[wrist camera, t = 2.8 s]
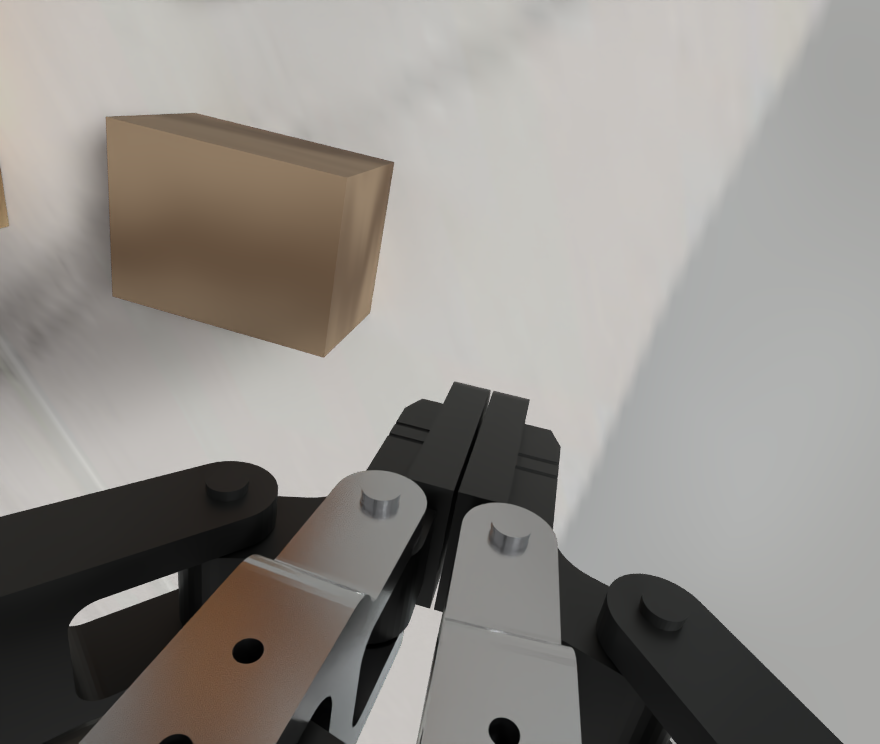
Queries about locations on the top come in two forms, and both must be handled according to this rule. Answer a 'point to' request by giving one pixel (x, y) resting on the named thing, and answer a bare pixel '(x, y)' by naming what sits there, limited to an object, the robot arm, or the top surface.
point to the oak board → (3, 207)
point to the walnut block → (244, 227)
